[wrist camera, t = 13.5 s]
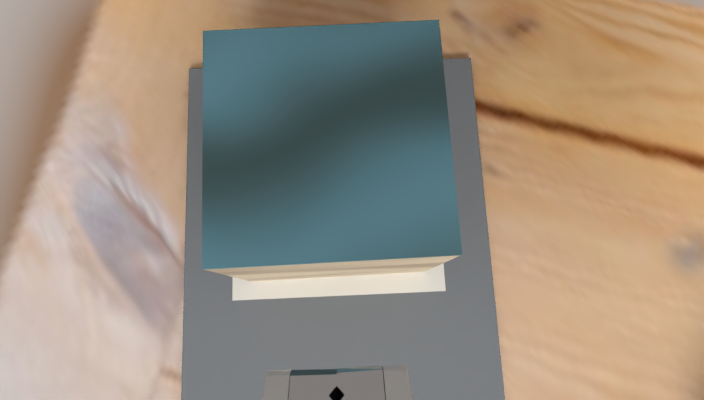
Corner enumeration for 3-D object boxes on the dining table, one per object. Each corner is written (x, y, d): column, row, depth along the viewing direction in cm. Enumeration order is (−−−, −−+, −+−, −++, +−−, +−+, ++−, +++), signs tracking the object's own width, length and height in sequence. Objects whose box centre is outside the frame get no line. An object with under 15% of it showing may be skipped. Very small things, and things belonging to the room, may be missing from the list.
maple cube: (438, 19, 19) (410, 109, 28) (203, 30, 19) (249, 117, 28) (462, 254, 18) (424, 271, 26) (202, 269, 17) (251, 281, 26)
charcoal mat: (535, 720, 23) (538, 726, 22) (175, 741, 22) (172, 747, 22) (469, 60, 29) (470, 57, 29) (190, 71, 29) (189, 68, 29)
